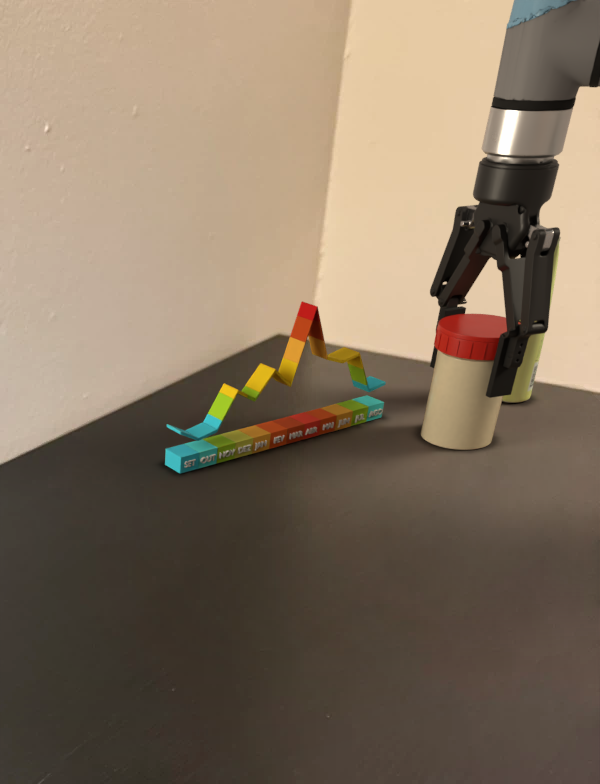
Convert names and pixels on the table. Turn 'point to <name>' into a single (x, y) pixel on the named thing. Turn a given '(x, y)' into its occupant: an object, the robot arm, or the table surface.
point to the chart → (283, 428)
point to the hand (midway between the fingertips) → (468, 380)
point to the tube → (530, 356)
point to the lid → (470, 335)
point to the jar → (460, 404)
